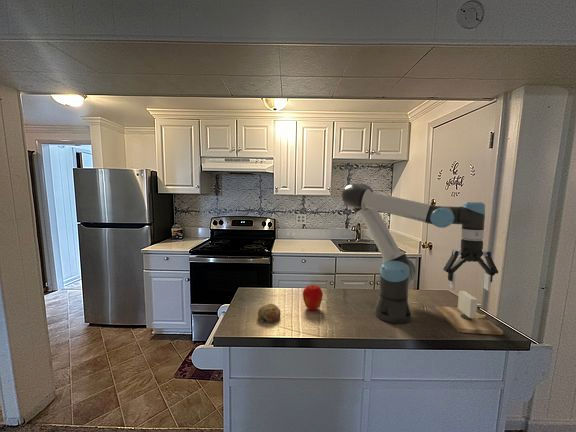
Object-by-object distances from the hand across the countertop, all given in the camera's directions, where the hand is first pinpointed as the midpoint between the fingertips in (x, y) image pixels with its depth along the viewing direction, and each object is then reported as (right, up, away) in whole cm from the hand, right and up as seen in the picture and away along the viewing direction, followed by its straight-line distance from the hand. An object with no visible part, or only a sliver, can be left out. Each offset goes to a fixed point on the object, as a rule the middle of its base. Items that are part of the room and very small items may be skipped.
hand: (469, 288), depth 108 cm
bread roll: (-85, -14, +3) cm, 86 cm away
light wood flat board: (0, -14, +2) cm, 14 cm away
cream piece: (+2, -13, +1) cm, 13 cm away
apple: (-65, -13, +12) cm, 68 cm away
